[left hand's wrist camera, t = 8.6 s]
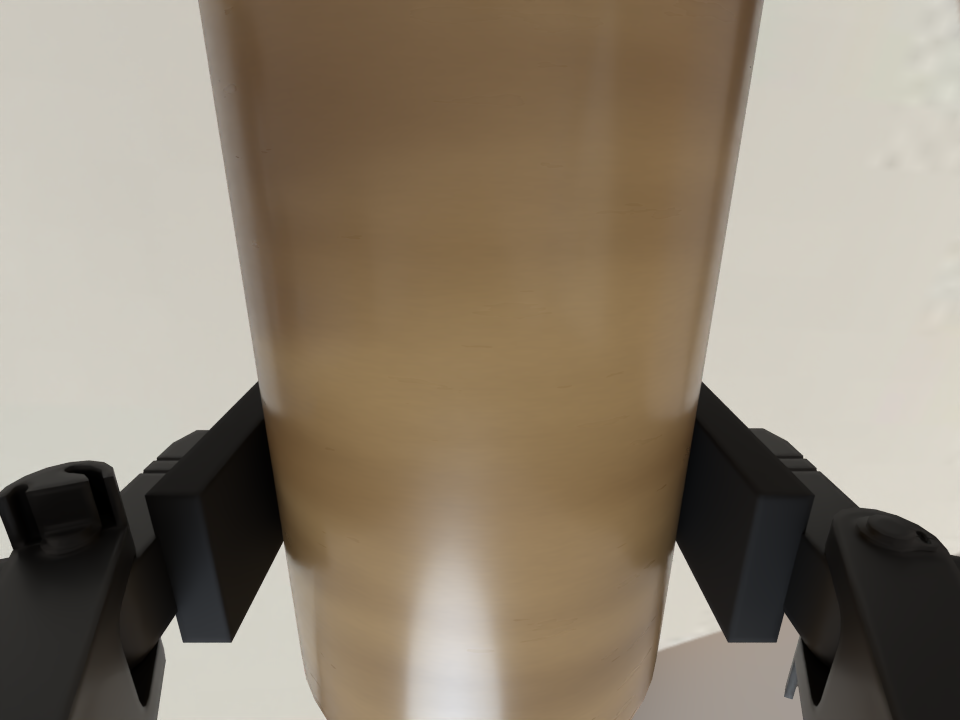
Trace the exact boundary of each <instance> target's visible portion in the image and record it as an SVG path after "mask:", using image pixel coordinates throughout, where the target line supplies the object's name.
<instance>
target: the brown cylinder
mask: <svg viewBox="0 0 960 720" xmlns="http://www.w3.org/2000/svg"><path fill="white" fill-rule="evenodd" d="M198 2H199V8H200V15H201V21H202V27H203V34H204V40H205V46H206V53H207V59H208V65H209V72H210V78H211V84H212V91H213V97H214V103H215V109H216V116H217V122H218V128H219V135H220V141H221V147H222V154H223V160H224V166H225V173H226V179H227V185H228V192H229V198H230V204H231V211H232V217H233V223H234V230H235V236H236V242H237V249H238V255H239V261H240V268H241V274H242V280H243V287H244V293H245V299H246V306H247V312H248V318H249V325H250V331H251V337H252V344H253V350H254V356H255V362H256V369H257V375H258V381H259V388H260V394H261V400H262V407H263V413H264V419H265V426H266V432H267V438H268V445H269V451H270V457H271V464H272V470H273V476H274V483H275V489H276V495H277V502H278V508H279V514H280V521H281V527H282V533H283V540H284V546H285V552H286V559H287V565H288V571H289V578H290V584H291V590H292V597H293V603H294V609H295V615H296V622H297V628H298V634H299V641H300V647H301V653H302V659H303V664H304V669H305V674H306V679H307V681H308V684H309V686H310V689H311V691H312V694H313V696H314V699H315V701H316V703H317V704H318V706H319V707H320V709H321V711H322V712H323V714H324V715H325V717H326V719H327V720H632V718H633V717H634V715H635V713H636V712H637V710H638V709H639V707H640V705H641V704H642V702H643V700H644V698H645V696H646V693H647V691H648V688H649V686H650V683H651V680H652V677H653V672H654V667H655V662H656V657H657V651H658V645H659V639H660V633H661V627H662V620H663V614H664V608H665V602H666V596H667V590H668V584H669V578H670V571H671V565H672V559H673V553H674V547H675V541H676V535H677V529H678V523H679V516H680V510H681V504H682V498H683V492H684V486H685V480H686V474H687V467H688V461H689V455H690V449H691V443H692V437H693V431H694V425H695V419H696V412H697V406H698V400H699V394H700V388H701V382H702V376H703V370H704V364H705V357H706V351H707V345H708V339H709V333H710V327H711V321H712V315H713V308H714V302H715V296H716V290H717V284H718V278H719V272H720V266H721V260H722V253H723V247H724V241H725V235H726V229H727V223H728V217H729V211H730V204H731V198H732V192H733V186H734V180H735V174H736V168H737V162H738V156H739V149H740V143H741V137H742V131H743V125H744V119H745V113H746V107H747V101H748V94H749V88H750V82H751V76H752V70H753V64H754V58H755V52H756V45H757V39H758V33H759V27H760V21H761V15H762V9H763V3H764V0H198Z"/></svg>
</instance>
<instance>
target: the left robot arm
mask: <svg viewBox="0 0 960 720" xmlns="http://www.w3.org/2000/svg"><path fill="white" fill-rule="evenodd" d="M816 469H817V468H816V467H815V466H814V465H813V464H811V463H810V462H809V461H808V460H807V459H803V455H802V454H801V453H799V452H798V451H797V450H796V449H795V448H794V447H793V446H792V445H791V444H790V443H789V442H788V441H786V440H784V439H782V438H780V437H778V436H777V435H775V434H773V433H771V432H769V431H767V430H765V429H763V428H748V427H747V426H746V425H745V424H744V423H743V422H742V421H741V420H740V419H739V418H738V417H737V416H736V415H735V414H734V413H733V412H732V411H731V410H730V409H729V408H728V407H727V406H726V405H725V404H724V403H723V402H722V401H721V400H720V399H719V398H718V397H717V396H716V395H715V394H714V393H713V392H712V391H711V390H710V389H709V388H708V387H707V386H706V385H705V384H704V383H703V382H701V388H700V394H699V400H698V406H697V412H696V419H695V425H694V431H693V437H692V443H691V449H690V455H689V461H688V467H687V474H686V480H685V486H684V492H683V498H682V504H681V510H680V516H679V523H678V529H677V535H676V542H677V544H678V546H679V548H680V550H681V552H682V553H683V555H684V557H685V559H686V561H687V563H688V565H689V567H690V569H691V571H692V573H693V575H694V577H695V579H696V581H697V583H698V585H699V587H700V589H701V591H702V592H703V594H704V596H705V598H706V600H707V602H708V604H709V606H710V608H711V610H712V612H713V614H714V616H715V618H716V620H717V622H718V624H719V626H720V628H721V630H722V631H723V633H724V635H725V637H726V639H727V641H728V642H777V639H778V635H779V631H780V627H781V623H782V619H783V616H784V612H785V614H786V615H787V617H788V618H789V620H790V621H791V623H792V624H793V626H794V627H795V629H796V630H797V632H798V633H799V635H800V637H799V640H798V644H797V647H796V651H795V655H794V658H793V662H792V665H791V669H790V672H789V676H788V680H787V683H786V688H785V695H784V697H787V698H790V699H793V696H794V692H795V689H796V687H797V686H798V687H799V694H800V701H801V707H802V714H803V720H960V557H959V556H954V555H950V554H949V552H948V550H947V549H946V548H945V547H944V545H943V544H942V543H941V542H940V541H939V540H938V539H937V538H936V537H935V536H934V535H932V534H931V533H929V532H928V531H926V530H925V529H923V528H922V527H920V526H919V525H917V524H915V523H913V522H910V521H908V520H906V519H904V518H902V517H899V516H897V515H893V514H890V513H886V512H883V511H879V510H875V509H866V508H859V507H858V506H857V505H856V504H855V503H854V502H853V501H852V500H851V499H850V498H848V497H847V496H846V495H845V494H844V493H843V492H842V491H841V490H840V489H839V488H838V487H836V486H835V485H834V484H833V483H832V482H831V481H830V480H829V479H828V478H827V477H826V476H825V475H823V474H822V473H821V472H820V471H817V470H816ZM0 516H1V519H2V521H3V524H4V526H5V529H6V532H7V534H8V537H9V540H10V542H11V545H12V547H13V551H12V553H11V555H10V557H9V558H4V559H0V720H157V716H158V709H159V702H160V695H161V689H162V682H163V675H164V668H165V662H166V660H165V653H164V647H163V644H162V640H161V636H162V634H163V633H164V631H165V630H166V628H167V627H168V625H169V624H170V622H171V621H172V619H173V618H174V616H175V615H176V617H177V621H178V625H179V629H180V633H181V636H182V640H183V643H231V642H232V640H233V639H234V637H235V635H236V633H237V631H238V629H239V627H240V625H241V623H242V621H243V619H244V617H245V615H246V613H247V611H248V609H249V607H250V605H251V603H252V601H253V600H254V598H255V596H256V594H257V592H258V590H259V588H260V586H261V584H262V582H263V580H264V578H265V576H266V574H267V572H268V570H269V568H270V566H271V564H272V563H273V561H274V559H275V557H276V555H277V553H278V551H279V549H280V547H281V545H282V543H283V541H284V540H283V533H282V527H281V521H280V514H279V508H278V502H277V495H276V489H275V483H274V476H273V470H272V464H271V457H270V451H269V445H268V438H267V432H266V426H265V419H264V413H263V407H262V400H261V394H260V388H259V381H258V382H257V383H256V384H255V385H254V386H253V387H252V388H251V389H250V390H249V391H248V392H247V393H246V394H245V395H244V396H243V397H242V398H241V399H240V400H239V401H238V402H237V403H236V404H235V405H234V406H233V407H232V408H231V409H230V410H229V411H228V412H227V413H226V414H225V415H224V416H223V417H222V418H221V419H220V420H219V421H218V422H217V423H216V424H215V425H214V426H213V427H212V428H211V429H210V430H196V431H195V432H193V433H191V434H189V435H187V436H185V437H183V438H181V439H179V440H178V441H176V442H174V443H172V444H171V445H170V446H169V447H168V448H167V449H166V450H165V451H164V452H163V453H162V454H161V455H159V456H158V457H157V461H153V462H152V463H151V464H150V465H149V466H148V467H146V468H145V469H144V472H143V473H140V474H139V475H138V476H137V477H136V478H135V479H134V480H132V481H131V482H130V483H129V484H128V485H127V486H126V487H125V488H124V489H123V490H122V491H121V492H120V491H119V487H118V484H117V480H116V477H115V473H114V470H113V467H111V466H110V465H108V464H106V463H105V462H98V461H78V462H69V463H65V464H60V465H56V466H52V467H48V468H45V469H42V470H40V471H37V472H35V473H32V474H29V475H27V476H24V477H22V478H21V479H19V480H17V481H15V482H14V483H12V484H10V485H8V486H6V487H5V488H4V489H3V490H2V491H1V492H0Z"/></svg>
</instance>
